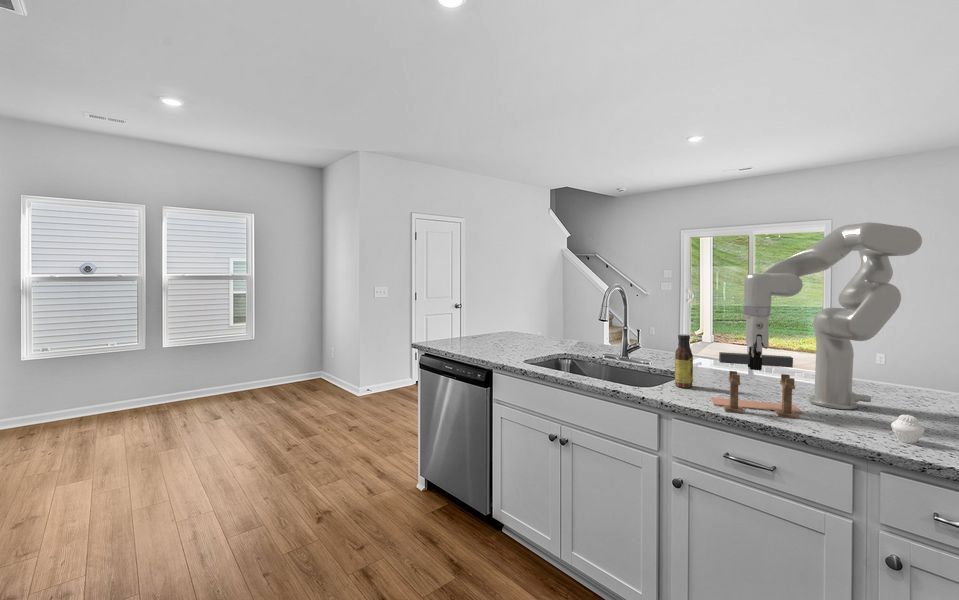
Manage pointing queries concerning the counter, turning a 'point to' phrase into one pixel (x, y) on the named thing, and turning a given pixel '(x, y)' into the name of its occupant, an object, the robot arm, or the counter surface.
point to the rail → (766, 359)
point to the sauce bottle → (683, 363)
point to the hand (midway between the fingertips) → (754, 368)
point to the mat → (754, 404)
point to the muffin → (907, 429)
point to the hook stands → (785, 412)
